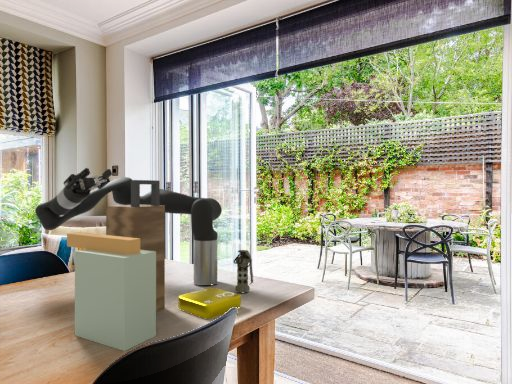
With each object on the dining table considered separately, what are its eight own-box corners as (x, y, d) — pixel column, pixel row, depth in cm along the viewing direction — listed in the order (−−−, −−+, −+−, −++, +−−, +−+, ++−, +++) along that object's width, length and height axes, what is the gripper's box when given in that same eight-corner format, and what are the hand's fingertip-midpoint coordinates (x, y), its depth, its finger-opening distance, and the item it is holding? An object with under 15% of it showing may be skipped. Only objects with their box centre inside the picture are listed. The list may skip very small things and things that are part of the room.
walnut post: (106, 312, 110) (106, 205, 110) (137, 302, 121) (137, 204, 120) (134, 320, 104) (134, 207, 104) (164, 308, 115) (164, 205, 114)
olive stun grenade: (230, 294, 130) (231, 251, 130) (240, 289, 137) (241, 248, 136) (246, 296, 127) (247, 253, 127) (256, 291, 134) (256, 250, 133)
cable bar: (67, 246, 100) (67, 233, 100) (78, 244, 103) (78, 232, 103) (129, 254, 89) (129, 240, 89) (140, 252, 92) (140, 238, 92)
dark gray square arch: (130, 206, 107) (130, 180, 106) (154, 205, 115) (154, 180, 115) (135, 207, 106) (135, 180, 105) (159, 205, 114) (159, 180, 114)
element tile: (211, 298, 126) (211, 284, 126) (243, 308, 117) (243, 293, 116) (175, 309, 115) (175, 294, 115) (208, 321, 105) (208, 304, 105)
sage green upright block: (74, 335, 94) (74, 250, 93) (107, 322, 102) (107, 245, 102) (124, 351, 85) (124, 258, 85) (155, 335, 94) (156, 251, 93)
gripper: (50, 185, 125) (76, 159, 118) (87, 185, 138) (113, 162, 131) (57, 204, 123) (84, 180, 116) (94, 203, 136) (120, 180, 129)
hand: (99, 170), depth 123 cm, fingers open, 8 cm apart
